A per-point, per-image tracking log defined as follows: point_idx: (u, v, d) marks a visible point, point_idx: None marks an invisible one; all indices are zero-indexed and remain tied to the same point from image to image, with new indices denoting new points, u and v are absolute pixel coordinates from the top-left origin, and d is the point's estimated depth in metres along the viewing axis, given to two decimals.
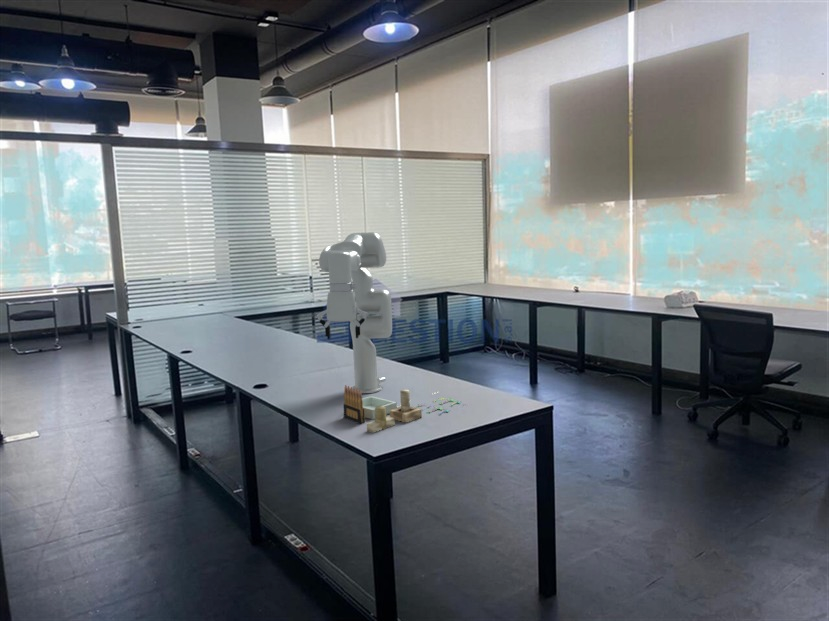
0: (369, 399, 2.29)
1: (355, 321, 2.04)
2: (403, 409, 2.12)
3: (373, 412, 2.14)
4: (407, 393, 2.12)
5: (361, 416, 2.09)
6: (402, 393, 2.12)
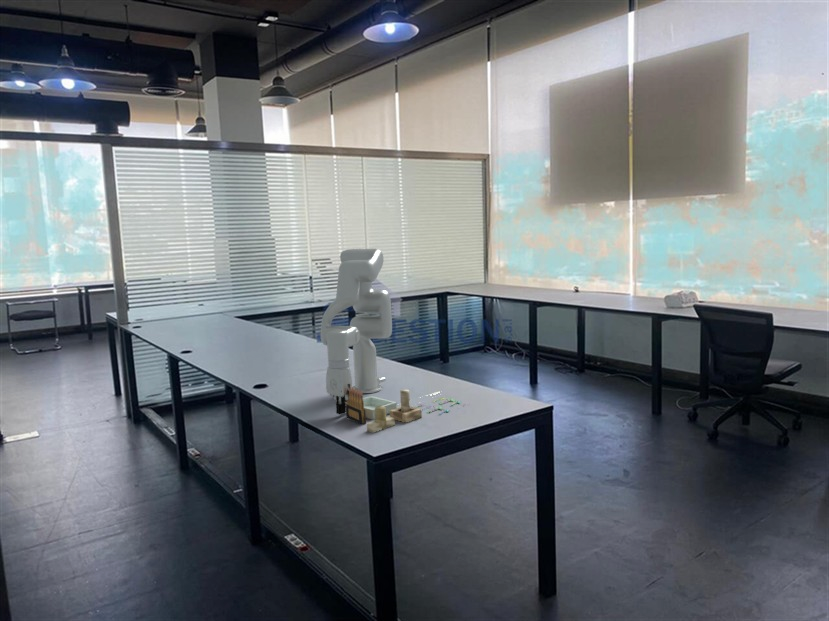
0: (369, 399, 2.29)
1: None
2: (403, 409, 2.12)
3: (373, 412, 2.14)
4: (407, 393, 2.12)
5: (362, 417, 2.08)
6: (402, 393, 2.12)
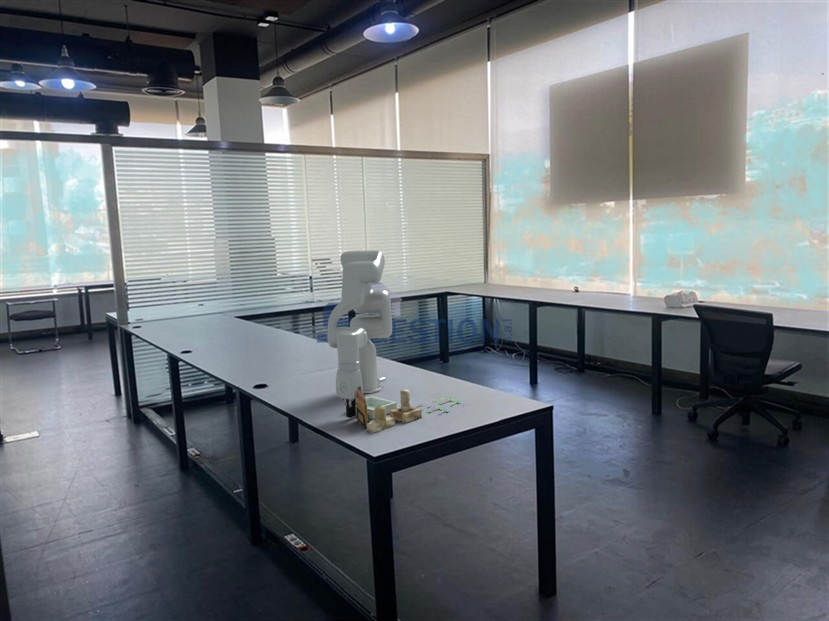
0: (369, 399, 2.29)
1: None
2: (403, 409, 2.12)
3: (373, 412, 2.14)
4: (407, 393, 2.12)
5: (366, 421, 2.03)
6: (402, 393, 2.12)
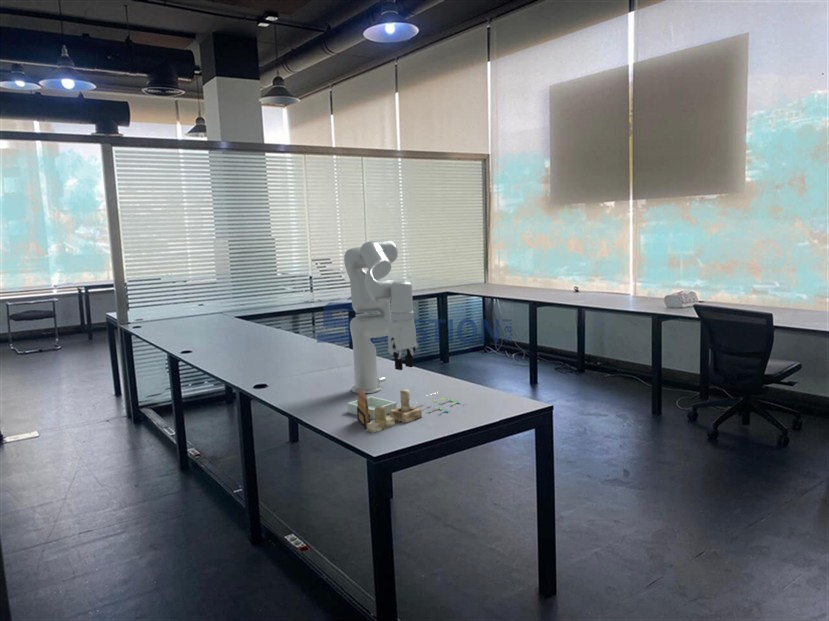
0: (369, 399, 2.29)
1: (412, 350, 2.12)
2: (403, 409, 2.12)
3: (373, 412, 2.14)
4: (407, 393, 2.12)
5: (366, 421, 2.03)
6: (402, 393, 2.12)
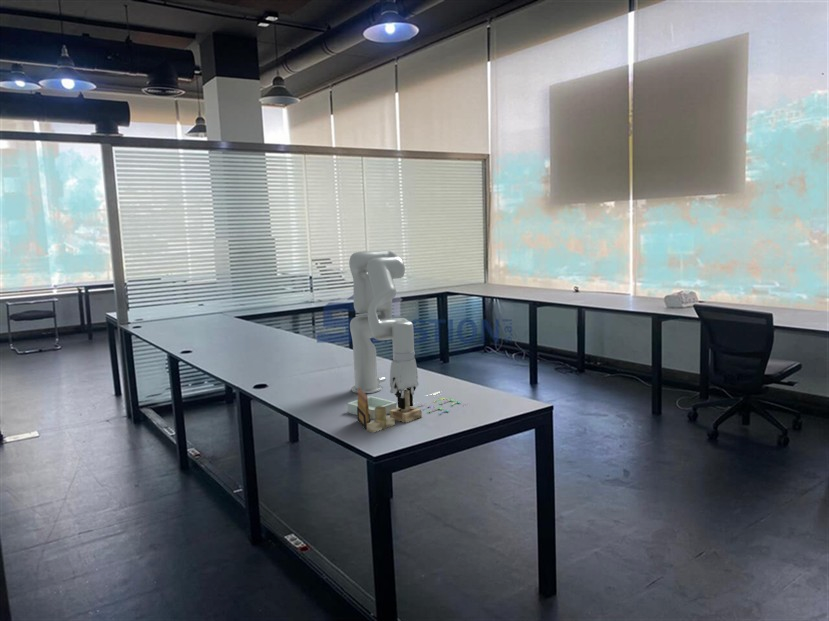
0: (369, 399, 2.29)
1: (412, 389, 2.14)
2: (403, 409, 2.12)
3: (373, 412, 2.14)
4: (407, 393, 2.12)
5: (366, 421, 2.03)
6: None
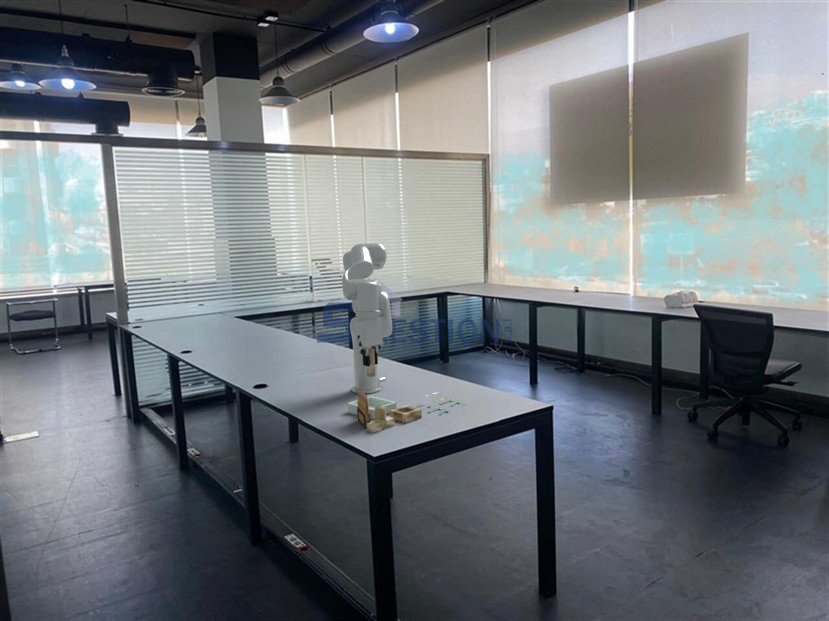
0: (369, 399, 2.29)
1: (377, 347, 2.20)
2: (368, 367, 2.19)
3: (373, 412, 2.14)
4: (372, 351, 2.18)
5: (366, 421, 2.03)
6: None
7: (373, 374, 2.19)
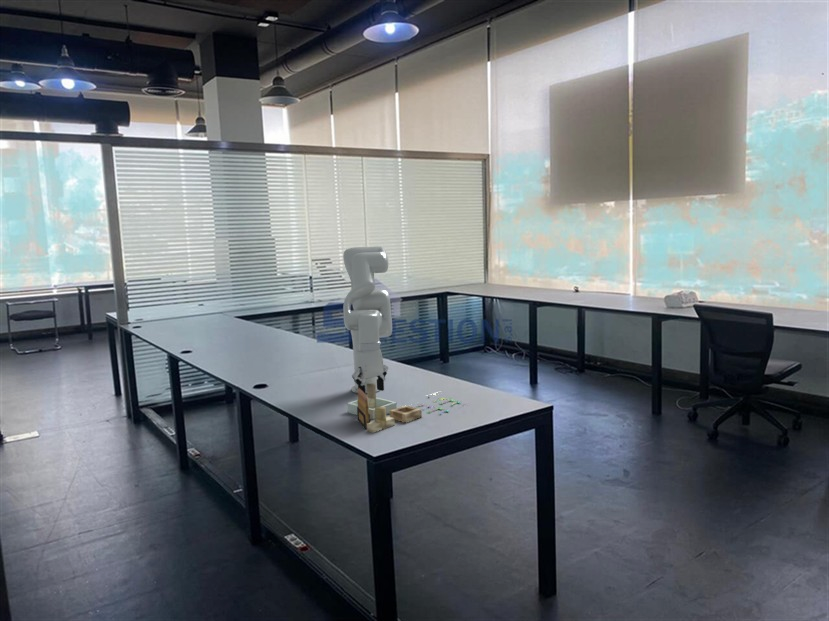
0: None
1: (382, 375, 2.23)
2: (369, 401, 2.21)
3: (373, 412, 2.14)
4: (373, 385, 2.21)
5: (366, 421, 2.03)
6: (368, 385, 2.20)
7: None
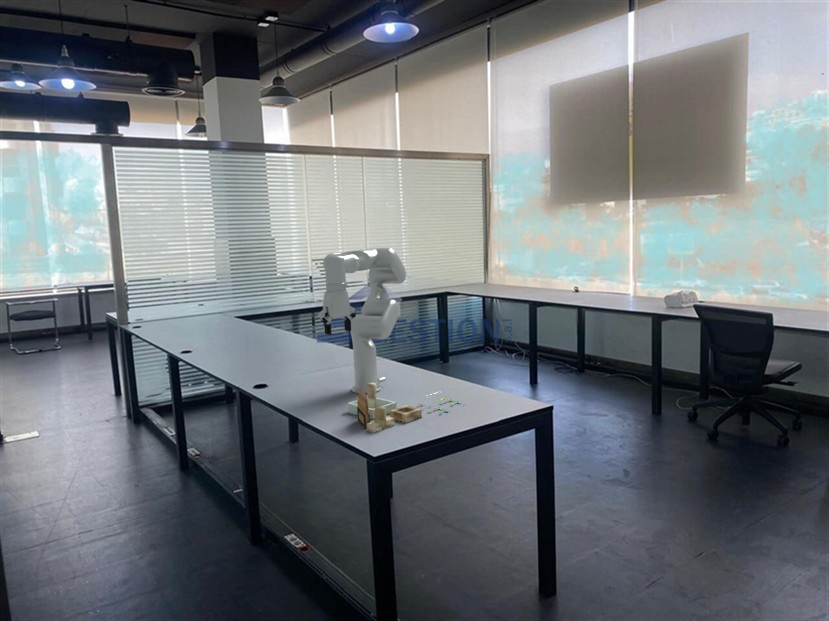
0: None
1: (349, 316, 2.32)
2: (369, 401, 2.21)
3: (373, 412, 2.14)
4: (373, 386, 2.20)
5: (366, 421, 2.03)
6: (369, 386, 2.20)
7: None
